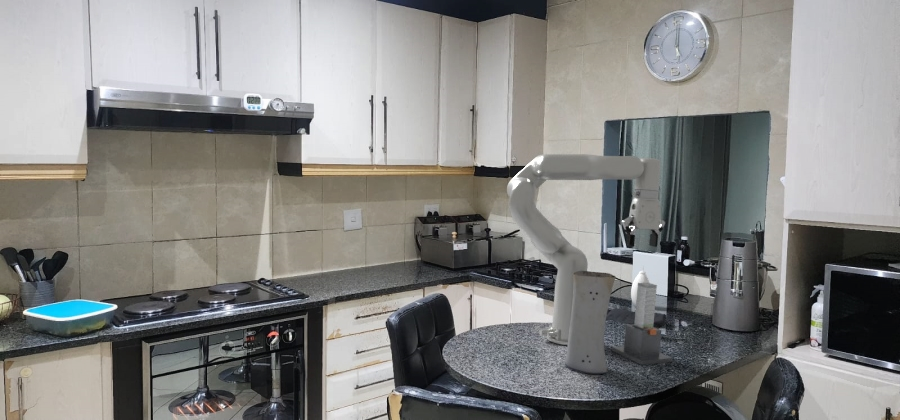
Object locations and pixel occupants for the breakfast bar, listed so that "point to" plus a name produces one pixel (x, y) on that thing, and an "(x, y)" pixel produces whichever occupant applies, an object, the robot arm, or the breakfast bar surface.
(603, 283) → the vase
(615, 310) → the dark slate chunk
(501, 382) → the breakfast bar surface
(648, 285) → the column
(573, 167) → the robot arm
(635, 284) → the white ovoid piece
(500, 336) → the breakfast bar surface
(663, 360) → the stand
